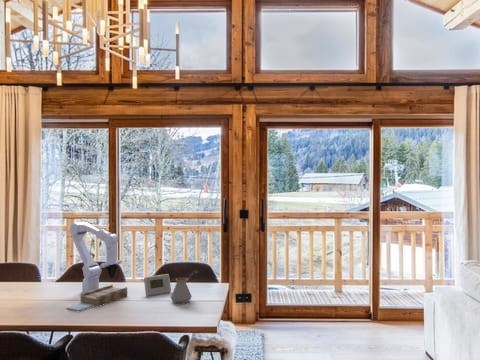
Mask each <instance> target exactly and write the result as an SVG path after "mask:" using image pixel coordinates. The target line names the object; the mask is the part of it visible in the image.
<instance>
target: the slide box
mask: <svg viewBox="0 0 480 360" xmlns="http://www.w3.org/2000/svg"><path fill="white" fill-rule="evenodd" d="M126 297H128V286H124V287H116V286H114V285H113V284H109V285H106V286H105V285H104V286H102V287H99V288H98V289H95V290H92V291H88V292H85V293H80V303H82V302H83V303H88V304H93V305H94V307H96V306H98V307H101V306H103V304H104V305H106V303H107V304H110V303H112V302H115V301H118V300H120V299H124V298H126ZM109 302H110V303H109ZM100 305H101V306H100Z"/></svg>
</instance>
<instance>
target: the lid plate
mask: <svg viewBox="0 0 480 360" xmlns="http://www.w3.org/2000/svg"><path fill="white" fill-rule="evenodd" d="M93 306H94V305H93V304H88V303H83V302H82V303H81V302H79V303H76V304H73V305H70V306H67V307H66V310H68V309H70V310H69V311H73V310H74V311H73V312H77V311H80V312H82V311H81V310H83V311H85V310H84V309H86V310H88V309H87V308H89V309H91V308H90V307H92V308H94V307H95V306H94V307H93Z"/></svg>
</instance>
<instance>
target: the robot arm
mask: <svg viewBox="0 0 480 360" xmlns="http://www.w3.org/2000/svg"><path fill="white" fill-rule="evenodd" d="M69 232H70V235H71V238H72V241H73V243H74V246H75V248H76V250H77V252H78V254H79V256H80V258H81V261H82V263H83V266H82V268H81V270H82V272H83V273H82V274H83V277H84V278H83V280H82V284H81V285H82V286H81V287H82V291H81V292H80V294H82V293H85V292H88V291H92V290H95V289H98V288H100V287H99V286H100V281H99V280H100V277H101V274H102V271H103V270H102V268H105V269H106V270H107V272H108V275H109V278H110V279H114V277H115V275H116V271H117V269H118V267H119V266H118V265H119V264H122V263H123V260H122V259H117V257H118V256H117V251H118V250H117V243H118V242H119V236H118V234H116V233H112V232H110V231H107V230H105V229H104V228H102V229H101V228H100V229H98V228H97V227H95V226H92V224H90V223H89V222H87V221H83V222H73V223H71V225H70V227H69ZM87 233H90V234H92V235H95V237H96V238H97V239H99V240H100V241H103V243H105V249H106V252H105V253H106V261H105V262H104V263H101V264H100V265H99V264H98V262H97V261H94V260H93V257H92V254H91V253H90V251H89V248H88V246H87V244H86V242H85V240H84V237H85V236H86V234H87Z"/></svg>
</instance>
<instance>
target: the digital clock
mask: <svg viewBox="0 0 480 360" xmlns="http://www.w3.org/2000/svg"><path fill="white" fill-rule="evenodd" d="M143 283H144V290H145V296H147V297H149V296H158V295H163V294H167V293H171V292H172V287H171V280H170V274H169V273H166V274H158V275H151V276H145V277H144V278H143Z"/></svg>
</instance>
